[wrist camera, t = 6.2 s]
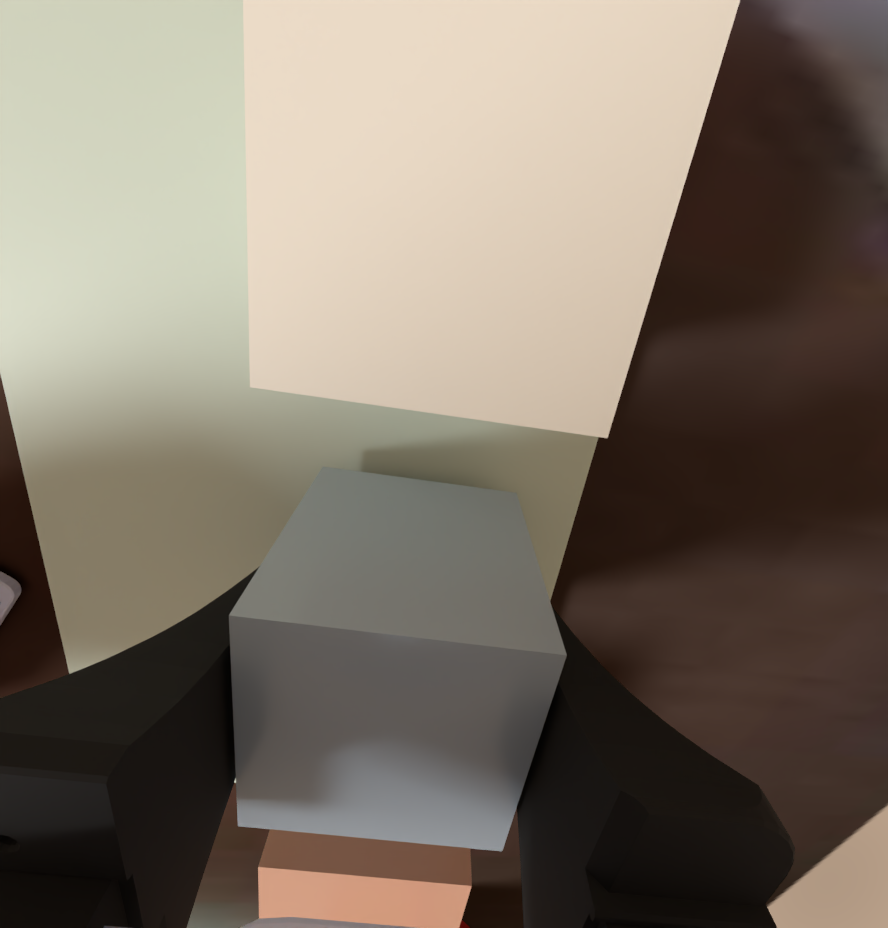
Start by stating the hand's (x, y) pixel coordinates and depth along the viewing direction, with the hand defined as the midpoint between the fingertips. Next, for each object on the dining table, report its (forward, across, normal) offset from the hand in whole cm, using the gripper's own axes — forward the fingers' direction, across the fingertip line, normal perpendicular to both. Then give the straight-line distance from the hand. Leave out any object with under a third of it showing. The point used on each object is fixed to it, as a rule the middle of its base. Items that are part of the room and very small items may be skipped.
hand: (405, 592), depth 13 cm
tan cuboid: (+2, 0, -9) cm, 9 cm away
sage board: (+3, +4, 0) cm, 5 cm away
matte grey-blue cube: (+2, 0, 0) cm, 2 cm away
